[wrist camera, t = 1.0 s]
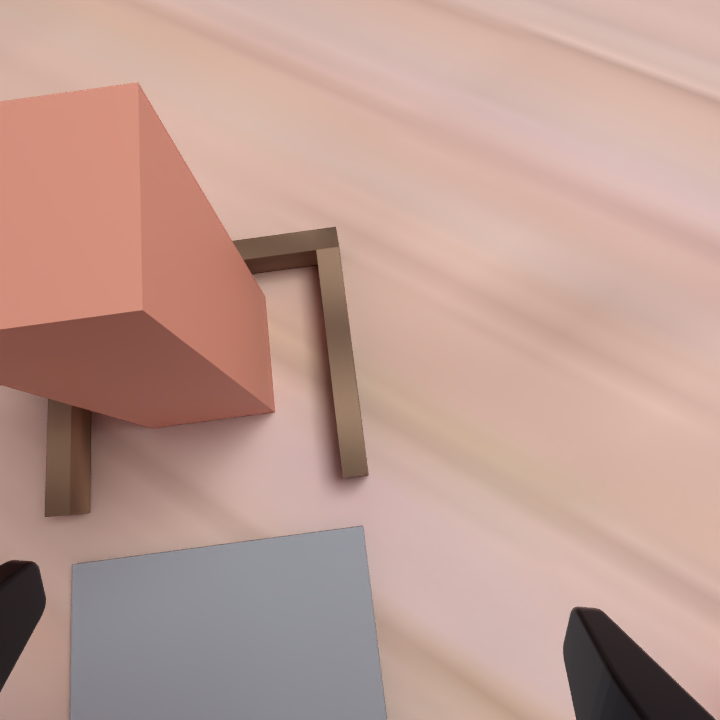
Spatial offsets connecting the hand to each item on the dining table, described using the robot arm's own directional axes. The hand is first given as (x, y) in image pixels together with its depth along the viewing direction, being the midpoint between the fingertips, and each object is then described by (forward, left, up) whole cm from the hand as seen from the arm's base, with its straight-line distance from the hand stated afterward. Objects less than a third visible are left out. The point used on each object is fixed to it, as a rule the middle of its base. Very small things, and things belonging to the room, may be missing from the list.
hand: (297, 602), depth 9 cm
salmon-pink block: (+1, +10, -13) cm, 16 cm away
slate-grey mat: (-8, -1, -13) cm, 15 cm away
